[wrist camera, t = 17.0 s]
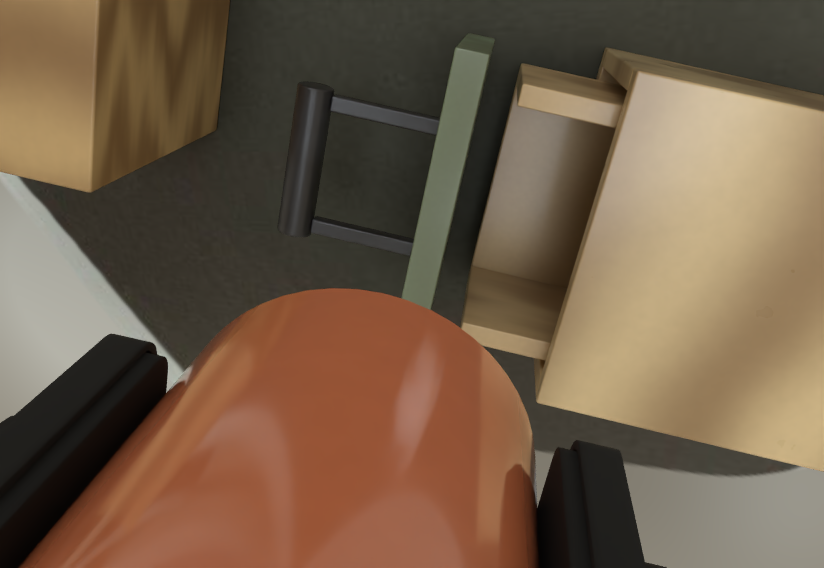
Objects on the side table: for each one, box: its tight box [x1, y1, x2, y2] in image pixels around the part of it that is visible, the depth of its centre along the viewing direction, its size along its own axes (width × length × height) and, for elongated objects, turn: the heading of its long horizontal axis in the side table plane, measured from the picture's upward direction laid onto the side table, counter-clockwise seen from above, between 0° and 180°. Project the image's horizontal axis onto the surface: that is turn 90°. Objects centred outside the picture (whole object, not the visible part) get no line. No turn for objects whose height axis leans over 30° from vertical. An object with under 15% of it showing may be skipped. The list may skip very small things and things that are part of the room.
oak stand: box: [0, 0, 230, 193], centre depth 30 cm, size 10×10×12 cm
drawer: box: [278, 33, 627, 361], centre depth 32 cm, size 18×11×8 cm, turn 79°
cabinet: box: [534, 48, 824, 472], centre depth 31 cm, size 14×13×10 cm
